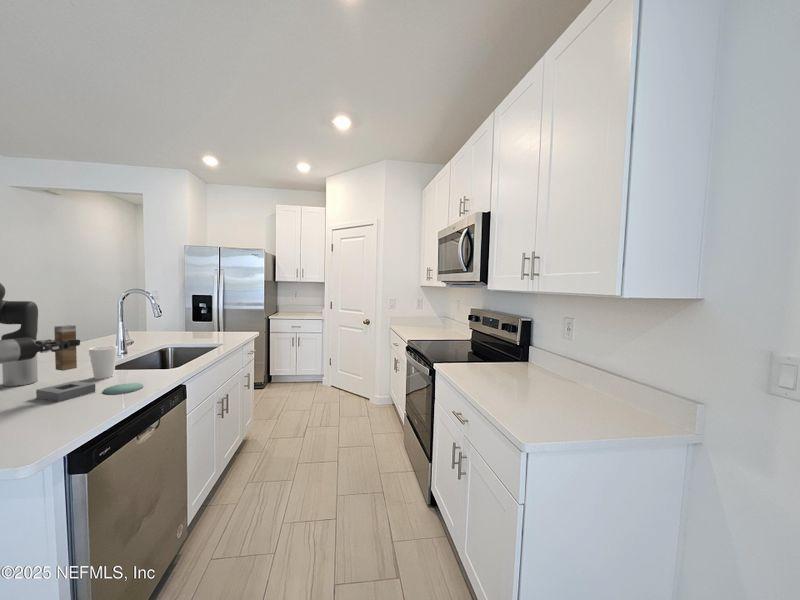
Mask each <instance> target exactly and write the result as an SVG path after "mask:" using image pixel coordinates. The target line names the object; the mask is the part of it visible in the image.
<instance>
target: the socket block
mask: <svg viewBox="0 0 800 600" xmlns="http://www.w3.org/2000/svg"><path fill="white" fill-rule="evenodd" d="M95 391H96V383H90V382H84V381H78V380H73V381H68V382H64V383H60V384H56V385H51V386H47V387H42V388H39V389H36V391H35V393H36V394H35V396H36V399H39V398H41V399H40V400H45V399H46V400H47V401H52V402H59V401H60V402H62V401H66V400H71V399H73V398H78V397H81V396H85V395H89V394H92V393H96V392H95ZM91 392H92V393H91ZM88 393H89V394H88ZM84 394H85V395H84ZM80 395H81V396H80ZM77 396H78V397H77ZM60 402H59V403H60Z"/></svg>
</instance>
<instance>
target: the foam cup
mask: <svg viewBox="0 0 800 600" xmlns="http://www.w3.org/2000/svg"><path fill="white" fill-rule="evenodd" d="M118 348H119V347H118V345H101V346H93V347H89V348H88V355H89V357H90V364H91V368H92V373H93V378H95V379H94V380H103V379H102V378H105V379H109V378H108V377H110V378H112V377H111V376H113V375H114V374H115V369H116V362H117V355H118V352H119V351H118V350H119V349H118ZM113 377H114V376H113Z"/></svg>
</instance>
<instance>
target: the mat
mask: <svg viewBox="0 0 800 600" xmlns="http://www.w3.org/2000/svg"><path fill="white" fill-rule="evenodd" d="M142 387H143V388H144V384H143V383H139V382H129V383H128V382H127V383H121V384H115V385H111V386H109V387H106V388H104V389H103V391H102V392H103V394H104V393H106V394H105V395H120V394H119V393H123V394H128V392H129V393H133V392H136V390H137V391H140V390H141V389H143V388H142ZM132 391H133V392H132Z"/></svg>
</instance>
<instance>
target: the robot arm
mask: <svg viewBox="0 0 800 600" xmlns="http://www.w3.org/2000/svg"><path fill="white" fill-rule="evenodd" d="M5 295H6V289H5V286H4V285H3V284H2V283H1V282H0V324H3V325H20V327H19V328H18V329H17V330H14V331H12V332H7V333H5V334H3V335H1V337H0V338H1V339H0V365H1V366H2V367H1V368H2V371H1V372H2V386H3V385H4V386H3V387H18V385H20V386H26V385H30V384H34V383H37V382H38V381H39V377H38V376H39V374H38V353H40V354H43V353H49V352H51V353H52V352H53V353H55V351H60V350H65V349H69V347H72V346H76V347H77V346H80V345H81V340H80V339H76V340H71V341H60V342H59V341H55V339H43V340H41V339H40V340H37V339H38V337H37V335H38V331H39V330H38V327H39V326H38V324H39V322H38V321H39V308H38V305H37V303H35V302H34V301H29V300H27V301H26V300H25V301H23V300H22V301H21V300H19V301H18V300H17V301H16V300H4V297H5Z"/></svg>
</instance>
